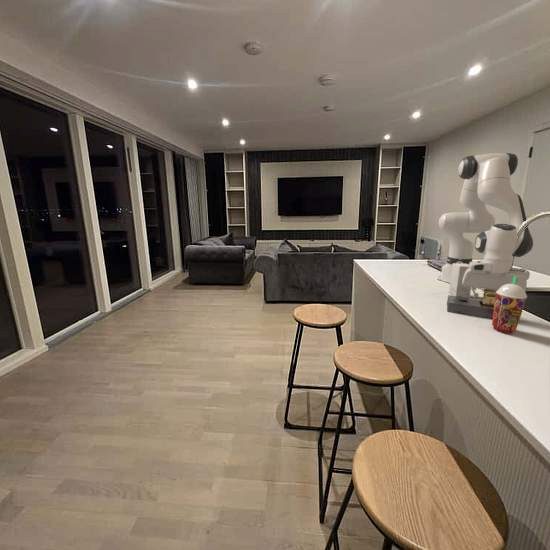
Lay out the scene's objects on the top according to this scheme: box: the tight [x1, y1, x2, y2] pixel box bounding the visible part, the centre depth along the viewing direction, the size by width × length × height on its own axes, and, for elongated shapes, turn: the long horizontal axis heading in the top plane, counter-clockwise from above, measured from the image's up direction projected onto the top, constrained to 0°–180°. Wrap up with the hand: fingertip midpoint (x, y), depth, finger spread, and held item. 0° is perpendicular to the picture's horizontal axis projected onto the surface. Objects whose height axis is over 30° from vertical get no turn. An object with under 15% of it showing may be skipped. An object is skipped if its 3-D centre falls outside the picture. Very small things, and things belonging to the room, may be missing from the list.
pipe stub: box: [481, 289, 497, 307], centre depth 114 cm, size 5×5×10 cm
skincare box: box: [448, 263, 472, 298], centre depth 135 cm, size 8×7×16 cm
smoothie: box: [491, 276, 528, 335], centre depth 98 cm, size 8×8×20 cm
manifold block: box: [446, 294, 494, 320], centre depth 116 cm, size 11×20×4 cm, turn 60°
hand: (489, 299), depth 113 cm, fingers open, 8 cm apart
